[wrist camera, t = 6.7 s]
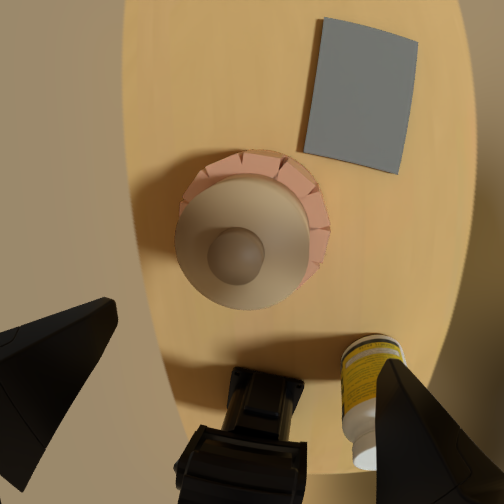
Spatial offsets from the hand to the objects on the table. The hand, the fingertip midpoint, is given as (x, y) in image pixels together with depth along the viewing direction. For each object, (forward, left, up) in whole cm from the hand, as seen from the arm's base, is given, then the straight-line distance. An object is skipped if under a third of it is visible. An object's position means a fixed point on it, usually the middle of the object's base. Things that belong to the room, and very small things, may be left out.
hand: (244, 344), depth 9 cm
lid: (0, +1, -8) cm, 9 cm away
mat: (+9, -4, -12) cm, 16 cm away
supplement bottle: (-10, -10, -12) cm, 18 cm away
